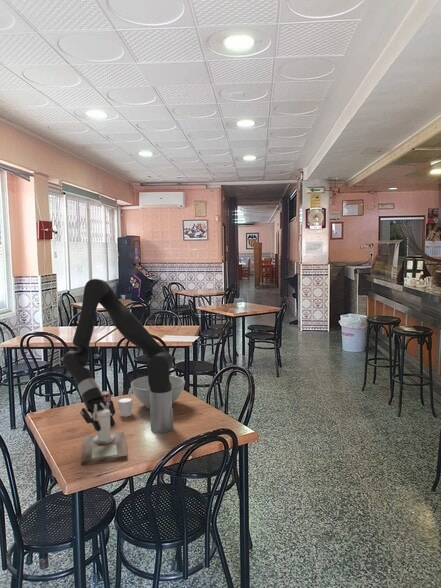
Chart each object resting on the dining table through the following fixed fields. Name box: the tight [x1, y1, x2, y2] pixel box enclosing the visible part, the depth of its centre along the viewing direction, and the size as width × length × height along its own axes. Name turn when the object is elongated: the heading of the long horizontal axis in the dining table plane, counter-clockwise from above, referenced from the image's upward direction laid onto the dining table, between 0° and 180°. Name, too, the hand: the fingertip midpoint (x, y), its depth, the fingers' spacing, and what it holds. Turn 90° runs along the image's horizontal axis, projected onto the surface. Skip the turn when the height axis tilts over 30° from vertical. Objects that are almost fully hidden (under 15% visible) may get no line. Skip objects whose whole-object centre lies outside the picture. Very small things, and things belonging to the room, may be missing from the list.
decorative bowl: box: [130, 374, 186, 410], centre depth 213 cm, size 27×27×12 cm
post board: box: [80, 431, 128, 466], centre depth 164 cm, size 16×22×9 cm
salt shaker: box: [96, 409, 111, 441], centre depth 169 cm, size 5×5×11 cm
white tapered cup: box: [117, 397, 134, 418], centre depth 201 cm, size 7×7×7 cm
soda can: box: [96, 390, 112, 419], centre depth 196 cm, size 7×7×12 cm
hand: (106, 427), depth 168 cm, fingers open, 5 cm apart
